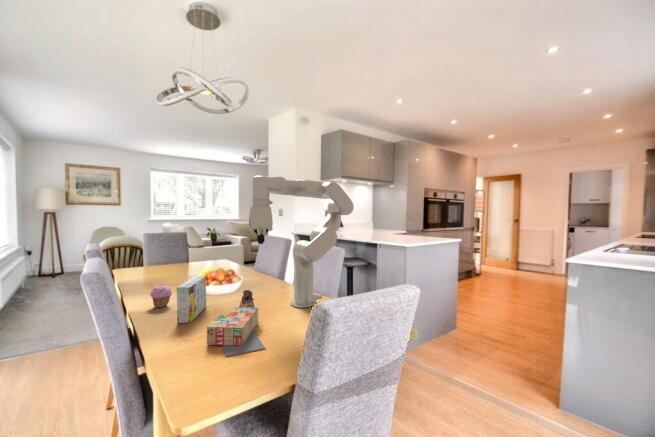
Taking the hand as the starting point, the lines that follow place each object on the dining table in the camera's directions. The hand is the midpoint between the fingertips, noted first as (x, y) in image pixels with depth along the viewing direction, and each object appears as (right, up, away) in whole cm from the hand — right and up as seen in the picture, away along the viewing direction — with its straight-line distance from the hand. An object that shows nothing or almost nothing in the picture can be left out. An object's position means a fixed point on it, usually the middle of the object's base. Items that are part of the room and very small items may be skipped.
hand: (260, 243), depth 137 cm
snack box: (-29, -31, -4) cm, 43 cm away
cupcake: (-49, -31, +6) cm, 58 cm away
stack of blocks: (+2, -28, -25) cm, 38 cm away
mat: (-2, -32, -28) cm, 42 cm away
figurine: (-4, -32, -7) cm, 32 cm away
